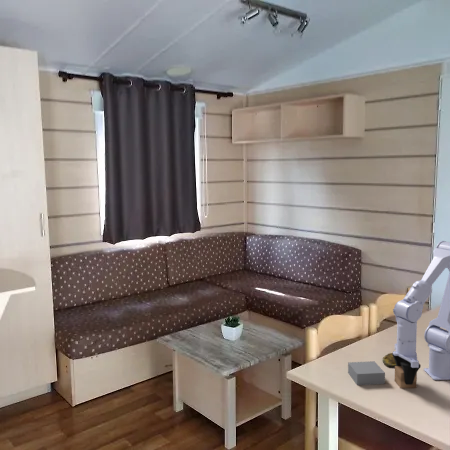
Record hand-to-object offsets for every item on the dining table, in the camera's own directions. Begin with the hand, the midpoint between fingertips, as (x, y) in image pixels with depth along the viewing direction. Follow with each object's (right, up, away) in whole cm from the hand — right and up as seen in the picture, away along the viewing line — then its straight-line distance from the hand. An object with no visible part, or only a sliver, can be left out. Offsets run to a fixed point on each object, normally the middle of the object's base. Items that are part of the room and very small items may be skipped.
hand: (405, 380), depth 150 cm
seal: (+4, 0, +18) cm, 19 cm away
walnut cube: (0, -1, 0) cm, 1 cm away
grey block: (-11, -1, +5) cm, 12 cm away
